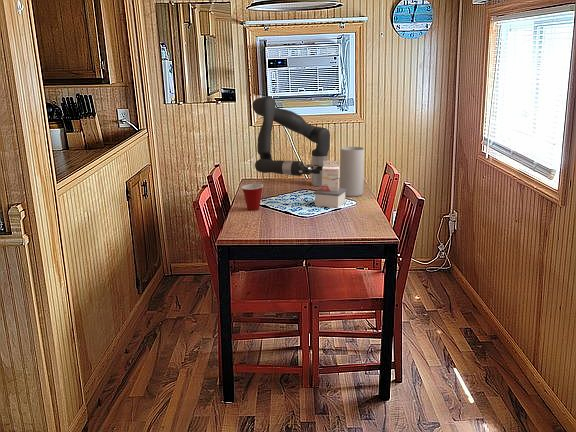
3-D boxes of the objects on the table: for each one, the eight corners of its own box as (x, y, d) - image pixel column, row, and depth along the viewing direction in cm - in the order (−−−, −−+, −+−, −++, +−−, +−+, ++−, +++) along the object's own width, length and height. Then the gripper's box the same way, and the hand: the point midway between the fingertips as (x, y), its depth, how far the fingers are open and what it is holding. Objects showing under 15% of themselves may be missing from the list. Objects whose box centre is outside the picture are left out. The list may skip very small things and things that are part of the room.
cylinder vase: (335, 194, 320) (335, 148, 313) (348, 190, 329) (350, 145, 322) (353, 198, 312) (355, 151, 305) (367, 194, 321) (369, 148, 314)
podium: (322, 199, 309) (322, 186, 307) (346, 202, 304) (346, 188, 302) (313, 205, 297) (313, 192, 295) (338, 208, 292) (338, 194, 290)
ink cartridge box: (321, 191, 297) (321, 162, 293) (322, 189, 302) (322, 160, 298) (338, 191, 296) (339, 162, 292) (339, 189, 301) (339, 160, 297)
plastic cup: (242, 206, 296) (241, 183, 293) (263, 206, 296) (263, 182, 293) (241, 212, 285) (240, 188, 282) (263, 211, 286) (263, 187, 283)
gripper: (287, 163, 296) (318, 165, 290) (297, 158, 309) (327, 160, 303) (287, 177, 298) (318, 180, 292) (297, 172, 311) (327, 175, 305)
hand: (322, 170), depth 297 cm, fingers open, 8 cm apart
